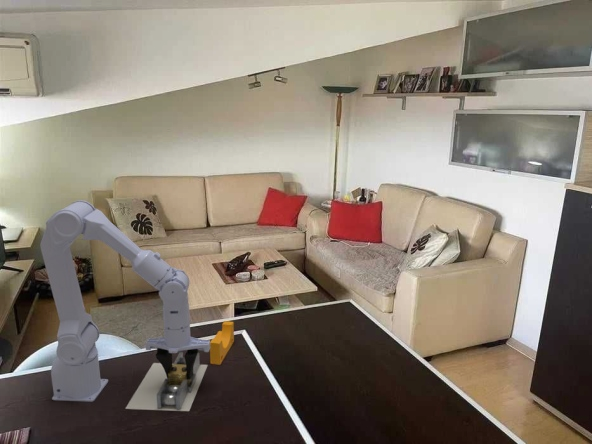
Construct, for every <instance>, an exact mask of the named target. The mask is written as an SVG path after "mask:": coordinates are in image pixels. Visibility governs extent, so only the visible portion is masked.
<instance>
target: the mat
mask: <svg viewBox="0 0 592 444" xmlns="http://www.w3.org/2000/svg"><path fill="white" fill-rule="evenodd" d="M173 364H174V363H172V365H173ZM208 366H209V365H208V364H200V366H199V368H198V370H197V373H196V382H195V384H194V386H193V389H192V391H191V393H187V396H186V398H185V400H184V403H183V405H182V407H181V409H180V410H177V408H176V405H163V407H162V409H157V393H158V391H159V390H160V388H161V386H162V384H163V382H164V380H165V379H167V376H166V373H165V370H164V368H163V366H162V365H161V363H160V362H152V365H151V367H149V370H148V371H147V372H146V374H145V376H144V377H143V379H142V381H141V382H140V384H139V385H138V387H137V389H136V390H135V392H134V393H133V395H132V396H131V398H130V400H129V402H128V404H127V405H126V406H125V409H126V410H148V411H172V412H173V411H174V412H190V410H191V408H192V405H193V402H194V400H195V398H196V395H197V393H198V390H199V389H200V388H199V387H200V386H201V383H202V380H203V377H204V375H205V373H206V370H207V368H208ZM190 382H191V380H190ZM189 384H190V383H189ZM188 386H189V385H188ZM187 390H188V387H187Z"/></svg>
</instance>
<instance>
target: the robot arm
mask: <svg viewBox="0 0 592 444" xmlns="http://www.w3.org/2000/svg"><path fill="white" fill-rule="evenodd" d="M45 225H46V227H45V229H44V233H43V236H42V239H41V241H40V244H39V245H40V251H41V254H42V259H43V262H44V266H45V269H46V273H47V277H48V282H49V285H50V288H51V293H52V297H53V299H54V300H53V301H54V304H55V308H56V311H57V315H58V319H59V326H58V328H57V329H58V330H57V336H56V339H57V342H58V343H57V347H56V352H55V353H56V357H55V358H54V360H53V362H52V364H51V370H50V374H51V384H52V390H53V396H52V397H51V400H53V401H67V402H69V401H70V402H89V403H90V402H91V403H92V402H94V401H95V400H96V399H97V398H98V397H99V395H100V393H101V392H102V391H103V389H104V388H105V386H106V385H107V384H108V382H109V379H107V378H101V372H100V360H99V351H98V348H97V346H96V342H98V340H99V338H100V329H99V327H98V326H97V324H96V323H95V322H94V321H93V317H92V315H91V314H90V313H88V312H86V311H87V310H86V308H85V304H84V300H83V296H82V295H83V294H82V292H81V287H80V283H79V279H78V275H77V271H76V266H75V264H74V259H73V254H72V250H71V246H72V245H73V243H74V242H76V240H77V239H78V238H79V237H80V236H81V235H83V236H82V237H81V240H82V241H100V242H102V243H103V244H105V245H106V246H108V247H109V248H110V249H112V250H113V251H115V252H116V253H118V254H119V255H120V256H122V257H123V258H125V259H126V260H128V261H129V262H131V270H132V271H133V272H134V273H135V274H136V275H138V276H139V277H141V278H142V279H143V280H144V281H145V282H147V283H148V284H149V285H150V286H152V287H153V288H154V289H156V290H158V296H159V297H160V300H161V301H162V303H163V305H162V313H163V314H162V316H163V317H162V318H163V334H164V336H161V337H154V338H152V337H150V338H147V340H146V341H145V344H144V345H145V346H144V347H145V351H151V350H152V349H153V350H156V354H155V357H156V359H157V360H158V363H161V365H162V366H163V368H164V370H165V373H166V376H167V379H169V378H168V374H169V372H170V370H171V368H172V366H173V365H172V364H173V354H177V353H178V354H179V352H183V351H186V353H185V355H183V358H185V362H186V369H187V380H190V379H191V376H192V371H193V366H194V362H195V359H196V356H197V354H198V353H199V351H203V352H204V353H210V342H211V339H210V340H209V339H202V338H197V337H193V336H191V320H190V318H191V317H190V303H189V293H188V291H189V287H190V278H189V275H188V274H187V273H186V272H185V270H183V269H179V268H178V269H177V268H176V267H175V266H174V267H173V266H171V265H170V264H169V263H167V262H166V261H165V260H164V259H162V258H161V256H162V255H161V254H160V253H159V252H158V251H156V252H154V251H153V250H151V249H142V248H140V247H139V245H137V244H136V243H135V242H134V241H133V240H131V239H130V238H129V237H128V236H127V235H126V234H125V233H124V232H122V230H120V229H119V228H118V226H116V225H115V224H113V223H112V222H111V221H110V219H108V217H107V216H106V215H105V214H104V213H103V211H102V210H100V209H98V208H95V206H94V205H93V204H92V203H91V202H88V201H87V200H82V199H81V200H75V201H73V202H71V203H70V204H69V205H68V206H66V207H64V208H62V209H59V210H57V211H55V212H54V213H53V214H52V215H51V216H50V217H49V218H48V219H47V220H46V221H45Z"/></svg>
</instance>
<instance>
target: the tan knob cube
mask: <svg viewBox="0 0 592 444" xmlns="http://www.w3.org/2000/svg"><path fill="white" fill-rule="evenodd" d="M172 364H173V366H172V368H171V370H170V372H169V374H168V378H169V385H181V384H182V382H183V380H184V379H185V380H187V369H186V365H180V364H174V363H172ZM190 380H191V379H190ZM190 380H187V387H188V385H189V383H190Z"/></svg>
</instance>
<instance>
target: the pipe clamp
mask: <svg viewBox="0 0 592 444" xmlns="http://www.w3.org/2000/svg"><path fill="white" fill-rule="evenodd" d="M221 327H222V328H221V330H219V331H217V333H216V334H215V336H214V338H211V339H210V350H209V355H210V356H209V359H210V360H209V361H210V365H211V364H212V365H219V366H220V365H221V364H222V362H223V361H224V359H225V358H226V356H227V354H228V353H229V351H230V349H231V347H232V346H233V344H234V341H235V335H234V334H235V330H234V329H235V328H234V327H235V325H234V321H228V320H227V321H226V320H224V321H223V322H222V325H221Z"/></svg>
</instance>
